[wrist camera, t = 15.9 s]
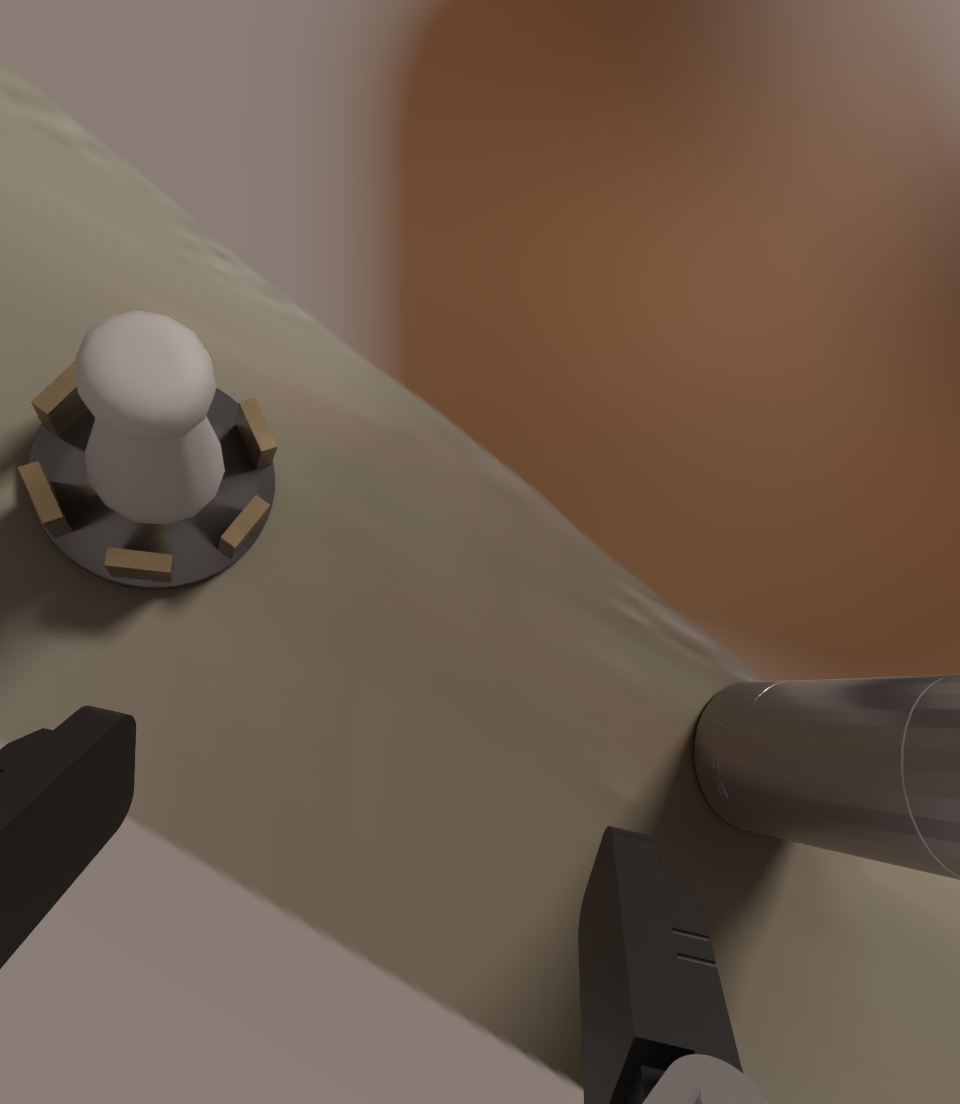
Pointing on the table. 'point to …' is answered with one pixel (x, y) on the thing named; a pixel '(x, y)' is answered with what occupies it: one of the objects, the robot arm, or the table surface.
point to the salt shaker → (149, 417)
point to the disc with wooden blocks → (142, 547)
